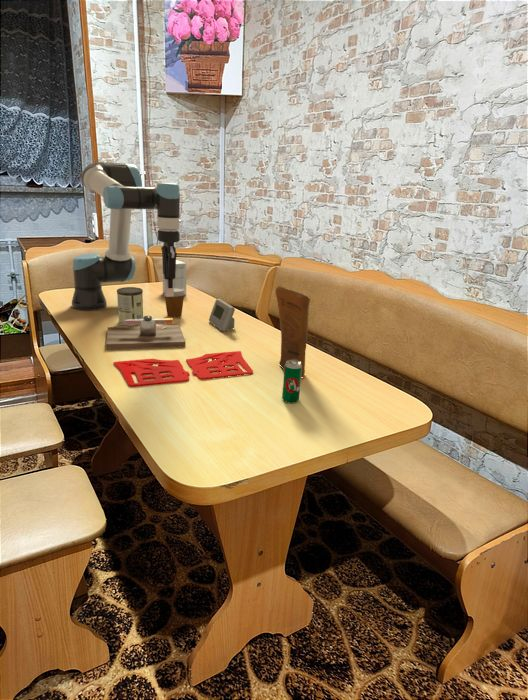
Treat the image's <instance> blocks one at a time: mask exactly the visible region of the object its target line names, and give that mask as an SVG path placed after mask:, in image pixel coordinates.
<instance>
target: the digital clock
mask: <svg viewBox="0 0 528 700" xmlns="http://www.w3.org/2000/svg"><path fill="white" fill-rule="evenodd" d="M214 301H215V302H214V304H213V307H212V309H211V313H210V315H209V318H208V321H209V323H211V324H212V325H213V326H214V327H216V328H217V329H218V330H219V331H221V332H224V333H226V332H227V331H228V330H234V329H235V318H234V317H233V315H234V314H235V310H236V309H235V307H234V306H232V305H231V304H230V303H228V302H227V301H225V300H222V299H221V298H216V300H214ZM233 328H234V329H233Z"/></svg>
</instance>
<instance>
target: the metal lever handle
mask: <svg viewBox="0 0 528 700" xmlns="http://www.w3.org/2000/svg"><path fill="white" fill-rule="evenodd" d="M173 322H174V319H173V317H168V318H167V317H166V318H154V317H152V315H143V318H141V319H124V320H123V325H122V326H124V325H137V326H140V334H141V335H143V336H152V335H155V334H156V326H157V325H173V324H174V323H173ZM138 324H140V325H138Z"/></svg>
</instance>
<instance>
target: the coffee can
mask: <svg viewBox="0 0 528 700" xmlns="http://www.w3.org/2000/svg"><path fill="white" fill-rule="evenodd" d="M143 291H144V290H143V288H141V287H135V286H134V287H133V286H127V287H126V286H125V287H119V288H117V289H116V295H117V315H118V324H119V325H121V326H123V327H135V326H140V324H138V325H123V320H124V319H141V318H144V306H143V305H144V300H143V299H144V298H143Z"/></svg>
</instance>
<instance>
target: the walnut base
mask: <svg viewBox="0 0 528 700" xmlns="http://www.w3.org/2000/svg"><path fill="white" fill-rule="evenodd" d="M106 333H107V334H106V346H105V347H106V350H129V349H131V350H133V349H155V348H156V349H157V348H161V347H163V348H185V347H186V339H185V337H184V334H183V331H182V328H181V325H176V324H175V325H156V334H155V335H152V336H143V335H141V334H140V325H137V326H108V327H107V332H106Z"/></svg>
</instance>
